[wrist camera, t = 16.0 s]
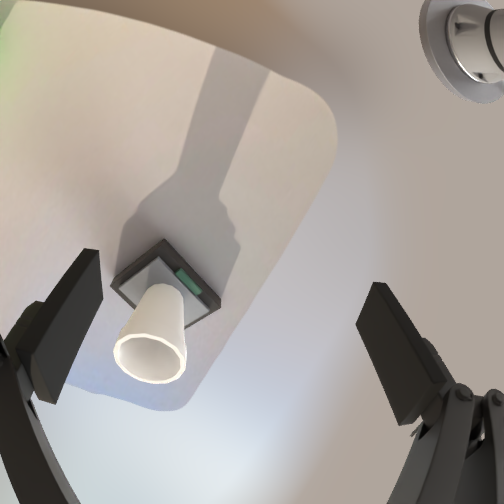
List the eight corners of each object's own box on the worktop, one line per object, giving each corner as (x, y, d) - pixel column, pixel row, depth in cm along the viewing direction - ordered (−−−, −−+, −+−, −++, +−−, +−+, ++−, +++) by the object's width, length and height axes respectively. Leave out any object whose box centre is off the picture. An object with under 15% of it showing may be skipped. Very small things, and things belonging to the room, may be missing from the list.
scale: (221, 299, 53) (220, 311, 50) (169, 330, 56) (167, 342, 53) (164, 238, 47) (160, 248, 44) (113, 278, 50) (108, 288, 47)
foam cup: (133, 272, 46) (108, 329, 35) (193, 276, 47) (183, 336, 36) (138, 320, 50) (120, 379, 39) (193, 325, 51) (186, 386, 40)
